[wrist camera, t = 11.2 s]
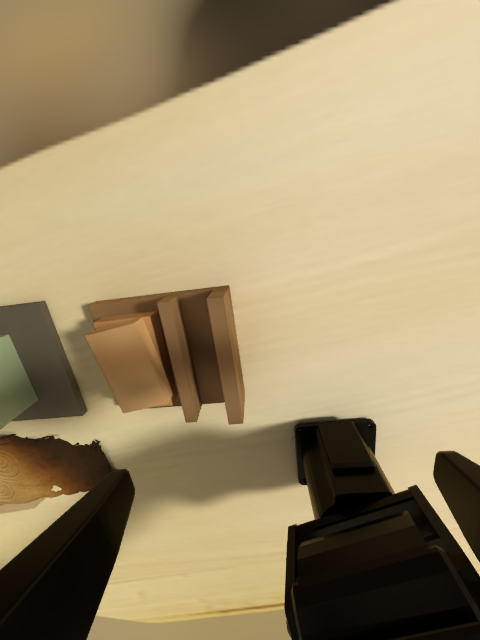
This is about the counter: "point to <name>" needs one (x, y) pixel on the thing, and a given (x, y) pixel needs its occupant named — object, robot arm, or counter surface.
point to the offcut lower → (156, 337)
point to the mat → (42, 361)
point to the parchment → (46, 470)
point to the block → (13, 383)
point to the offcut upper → (131, 365)
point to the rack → (194, 345)
